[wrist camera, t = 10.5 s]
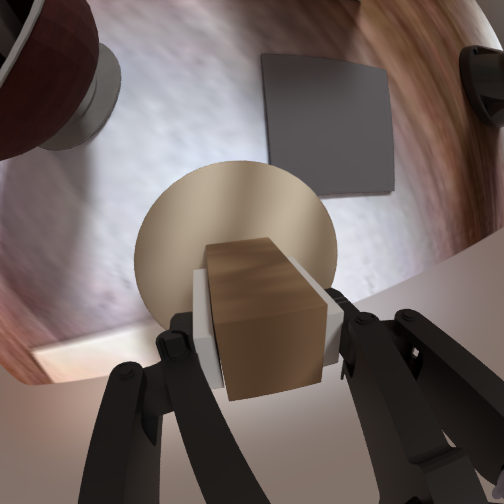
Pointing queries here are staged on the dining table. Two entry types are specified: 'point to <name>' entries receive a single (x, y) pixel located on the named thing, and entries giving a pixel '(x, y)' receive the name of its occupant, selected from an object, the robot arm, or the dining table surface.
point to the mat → (329, 123)
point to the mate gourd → (52, 76)
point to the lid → (244, 269)
